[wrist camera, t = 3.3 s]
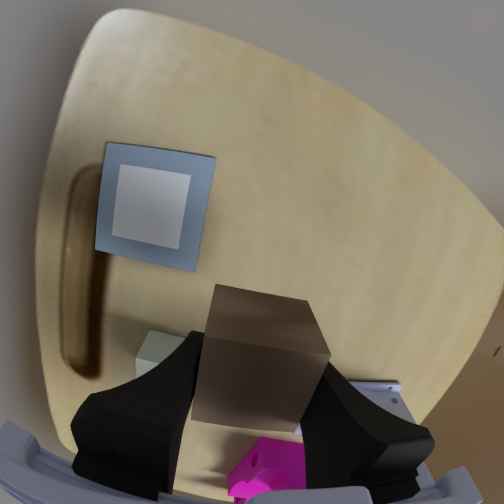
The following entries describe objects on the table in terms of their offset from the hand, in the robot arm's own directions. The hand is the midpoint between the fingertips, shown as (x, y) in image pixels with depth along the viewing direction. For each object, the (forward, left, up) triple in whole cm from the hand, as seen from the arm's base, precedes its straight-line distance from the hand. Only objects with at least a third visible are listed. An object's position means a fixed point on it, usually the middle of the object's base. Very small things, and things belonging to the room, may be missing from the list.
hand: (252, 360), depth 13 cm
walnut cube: (0, 0, -2) cm, 2 cm away
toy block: (-7, +25, -10) cm, 28 cm away
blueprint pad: (+8, -4, -9) cm, 13 cm away
